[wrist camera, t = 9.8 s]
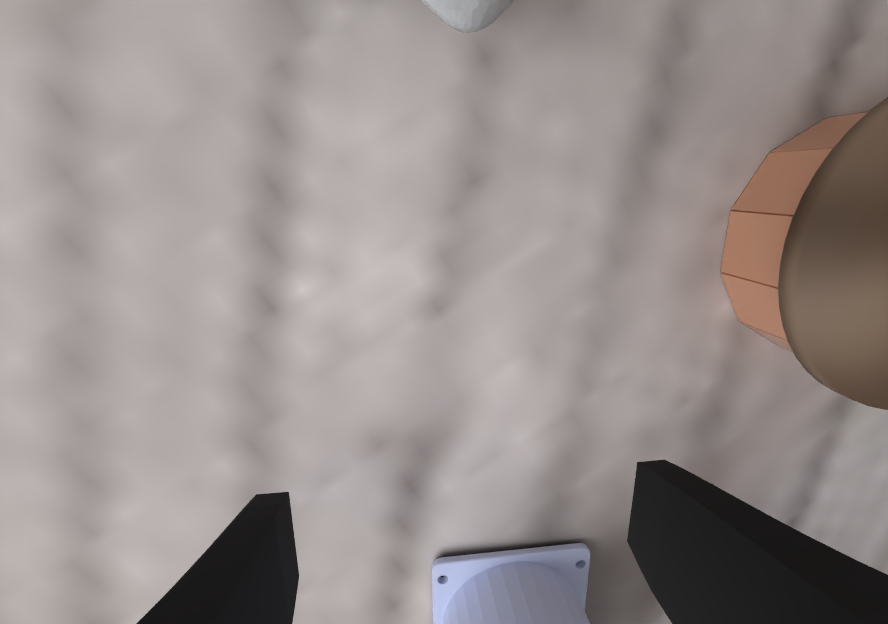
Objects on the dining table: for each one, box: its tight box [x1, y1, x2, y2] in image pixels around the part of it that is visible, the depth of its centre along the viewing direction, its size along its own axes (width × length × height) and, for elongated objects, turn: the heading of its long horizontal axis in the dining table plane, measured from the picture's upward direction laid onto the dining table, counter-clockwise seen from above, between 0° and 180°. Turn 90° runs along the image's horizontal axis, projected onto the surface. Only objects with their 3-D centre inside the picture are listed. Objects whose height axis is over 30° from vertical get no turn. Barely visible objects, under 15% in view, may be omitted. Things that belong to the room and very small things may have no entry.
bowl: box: [720, 112, 867, 352], centre depth 18 cm, size 10×10×4 cm
